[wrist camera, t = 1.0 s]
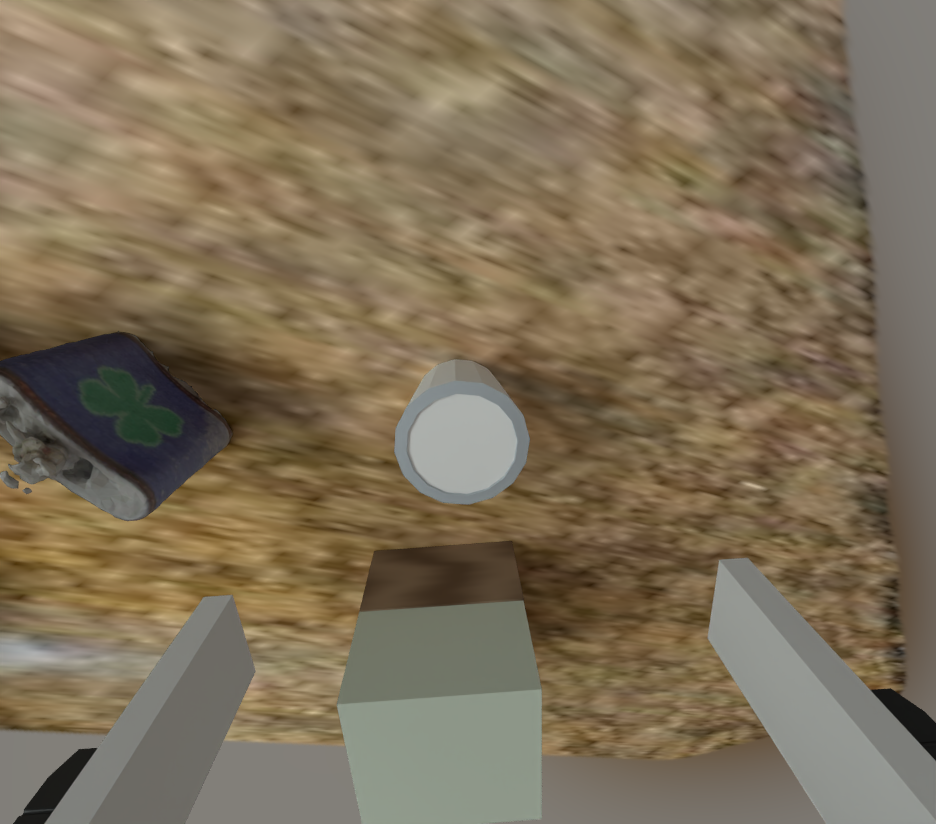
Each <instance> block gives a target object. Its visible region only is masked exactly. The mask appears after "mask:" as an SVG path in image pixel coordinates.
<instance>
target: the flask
mask: <svg viewBox="0 0 936 824" xmlns="http://www.w3.org/2000/svg"><path fill="white" fill-rule="evenodd" d="M168 369H169V367H167V366H165V365H163V364H161V363H159V362H158V361H157V360H156V359H155V357H154V355H153V351H152V352H151V351H150V350H148V349H147V348H146V347H145V345H144V344H143V343H142V342H141V341H140V340H139V339H138V338H137V337H136V336H135V335H132V334H129V333H125V332H119V331H118V332H116V333H111V334H104V335H100V336H96V337H93V338H88V339H85V340H81V341H78V342H72V343H66V344H64V345H60V346H57V347H54V348H51V349H46V350H40V351H36V352H32V353H30V354H25V355H20V356H17V357H12V358H8V359H5V360H2V361H0V435H1V436H2V437H3V438H4V439H5V440H6V441H7V442H8V443H9V444H10V445H12V446H13V454H14V459H15V460H16V461H17V462H19V464H16V465H10V464H8V466H9V468H10V469H11V470H12V471H13V472H14V473H15V474H16V475H20V479H22V480H23V481H25V482H27V483H29V484H35V483H37V482H39V481H42V480H45V479H46V478H50V479H53V480H56V481H58V482H59V483H61V484H62V485H64V486H65V487H66V488H68V489H69V490H70V491H71V492H73V493H75V494H77V495H79V496H80V497H82V498H84V499H86V500H88V501H89V502H91V503H92V504H94V505H95V506H97V507H98V508H100V509H101V510H103V511H106V512H108V513H110V514H111V515H113V516H114V517H116V518H119V519H122V520H125V521H135V520H140V519H142V518H144V517H146V516H147V515H149V514H150V513H151V512H153V511H154V510H155V509H157V508H158V507H159V506H160V504H161V503H162V502H163V501H164V500H166V499H167V498H168V497H169V496H170V495H171V494H172V493H173V492H174V491H175V490H176V489H178V488H179V487H180V486H181V485H182V484H183V483H184V482H185V481H186V480H187V479H188V478H190V477H191V476H192V475H193V474H194V473H195V472H197V471H198V470H199V469H201V468H202V467H203V466H204V465H205V464H206V463H207V462H208V461H209V460H210V459H211V458H213V457H214V456H215V455H216V454H217V453H218V452H220V451H221V450H222V449H223V448H224V447H226V446H227V444H228V443H229V441H230V439H231V437H232V435H233V433H232V431H231V429H230V427H229V425H228V424H227V422H226V420H225V419H224V418H223V417H222V415H221V414H220V412H218V411H217V410H216V409H214V410H211V408H210V407H208V405H207V404H205V402H204V401H202V399H201V398H199V396H198V394H197V393H196V392H195V391H194V390H193V389H192V386H189V385H188V384H187V383H186V382H185V381H182V379H181V380H179V379H178V378H175V377H173V376H172V375H171V374H170V373H169V372H168ZM0 478H1V479H2V481H3V482H4V483H5V484H6V485H7V486H8V487H10V488H18V483H19V481H17V480H15V479H14V478H12V477H11V476H9V474H8V472H7V471H3V472H1V473H0ZM22 491H23V492H25V493H26V494H28V493H31V492H32V491H31V489H29V488H25V489H24V490H22Z"/></svg>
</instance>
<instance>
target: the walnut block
mask: <svg viewBox="0 0 936 824" xmlns="http://www.w3.org/2000/svg"><path fill="white" fill-rule="evenodd" d="M509 601H524V598H523V593H522V588H521V583H520V578H519V574H518V569H517V564H516V559H515V554H514V549H513V544H512V541H503V542H489V543H476V544H462V545H449V546H435V547H422V548H408V549H395V550H381V551H374V554H373V558H372V562H371V566H370V570H369V574H368V578H367V582H366V586H365V590H364V595H363V599H362V603H361V607H360V612H366V611H381V610H395V609H409V608H423V607H437V606H451V605H466V604H480V603H494V602H509Z"/></svg>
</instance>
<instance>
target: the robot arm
mask: <svg viewBox="0 0 936 824" xmlns="http://www.w3.org/2000/svg"><path fill="white" fill-rule="evenodd" d="M708 640H709V641H710V643H711V644H712V646H713V648H714V649H715V651H716V652H717V654H718V655H719V657H720V658H721V660H722V662H723V663H724V665H725V666H726V668H727V669H728V671H729V673H730V674H731V676H732V677H733V679H734V680H735V682H736V684H737V685H738V687H739V688H740V690H741V691H742V693H743V695H744V696H745V698H746V699H747V701H748V702H749V704H750V706H751V707H752V709H753V710H754V712H755V713H756V715H757V716H758V718H759V720H760V721H761V723H762V724H763V726H764V727H765V729H766V731H767V732H768V734H769V735H770V737H771V738H772V740H773V742H774V743H775V745H776V746H777V748H778V749H779V751H780V753H781V754H782V756H783V757H784V759H785V760H786V762H787V763H788V765H789V766H790V768H791V770H792V771H793V773H794V774H795V776H796V778H797V779H798V781H799V782H800V784H801V785H802V787H803V789H804V790H805V792H806V793H807V795H808V796H809V798H810V800H811V801H812V803H813V804H814V806H815V807H816V809H817V811H818V812H819V814H820V815H821V817H822V818H823V820H824V821H825V823H826V824H936V723H935V722H934V721H933V720H932V719H931V718H930V717H929V716H928V715H927V714H926V713H925V712H924V711H923V710H921V709H920V708H918V707H917V706H916V705H914V704H913V703H911V702H910V701H908V700H907V699H905V698H904V697H902V696H901V695H900V694H898V693H897V692H895V691H894V690H892V689H878V690H870V689H869V688H868V687H867V686H866V685H865V684H864V683H863V682H862V681H861V680H860V679H859V678H858V676H857V675H856V674H855V673H854V672H853V671H852V670H851V669H850V668H849V667H848V666H847V665H846V664H845V662H844V661H843V660H842V659H841V658H840V657H839V656H838V655H837V654H836V653H835V652H834V651H833V649H832V648H831V647H830V646H829V645H828V644H827V643H826V642H825V641H824V640H823V639H822V638H821V637H820V635H819V634H818V633H817V632H816V631H815V630H814V629H813V628H812V627H811V626H810V625H809V624H808V622H807V621H806V620H805V619H804V618H803V617H802V616H801V615H800V614H799V613H798V612H797V611H796V610H795V608H794V607H793V606H792V605H791V604H790V603H789V602H788V601H787V600H786V599H785V598H784V597H783V595H782V594H781V593H780V592H779V591H778V590H777V589H776V588H775V587H774V586H773V585H772V584H771V583H770V581H769V580H768V579H767V578H766V577H765V576H764V575H763V574H762V573H761V572H760V571H759V570H758V569H757V567H756V566H755V565H754V564H753V563H752V562H751V561H750V560H749V559H748V558H739V559H725V560H719V566H718V572H717V579H716V586H715V592H714V599H713V606H712V612H711V619H710V626H709V632H708ZM254 673H255V668H254V664H253V661H252V658H251V654H250V651H249V648H248V645H247V641H246V638H245V635H244V631H243V628H242V625H241V621H240V618H239V615H238V612H237V608H236V605H235V602H234V598H233V595H226V596H212V597H204V598H203V599H202V601H201V602H200V603H199V605H198V606H197V608H196V609H195V611H194V612H193V613H192V615H191V616H190V618H189V619H188V621H187V622H186V623H185V625H184V626H183V628H182V629H181V630H180V632H179V633H178V635H177V636H176V638H175V639H174V640H173V642H172V643H171V645H170V646H169V648H168V649H167V650H166V652H165V653H164V655H163V656H162V657H161V659H160V660H159V662H158V663H157V665H156V666H155V667H154V669H153V670H152V672H151V673H150V675H149V676H148V677H147V679H146V680H145V682H144V683H143V684H142V686H141V687H140V689H139V690H138V692H137V693H136V694H135V696H134V697H133V699H132V700H131V701H130V703H129V704H128V706H127V707H126V709H125V710H124V711H123V713H122V714H121V716H120V717H119V719H118V720H117V721H116V723H115V724H114V726H113V727H112V728H111V730H110V731H109V733H108V734H107V736H106V737H105V738H104V740H103V741H102V743H101V744H100V746H99V747H98V748H91V749H79V750H78V751H77V752H76V753H74V754H73V755H72V756H71V757H70V758H69V759H68V760H67V761H66V762H65V763H64V764H62V765H61V766H60V767H59V768H58V769H57V770H56V771H55V772H54V773H53V774H52V775H50V776H49V777H48V778H47V780H46V781H45V783H44V784H43V785H42V786H41V788H40V789H39V790H38V792H37V793H36V794H35V796H34V797H33V798H32V800H31V801H30V802H29V804H28V805H27V806H26V808H25V809H24V813H23V815H22V816H19V817H18V818H17V819H16V821H15V822H14V823H13V824H185V822H186V820H187V818H188V816H189V814H190V812H191V810H192V807H193V805H194V803H195V801H196V799H197V797H198V794H199V792H200V790H201V788H202V786H203V784H204V781H205V779H206V777H207V775H208V773H209V771H210V769H211V766H212V764H213V762H214V760H215V758H216V756H217V753H218V751H219V749H220V747H221V745H222V743H223V740H224V738H225V736H226V734H227V732H228V730H229V727H230V725H231V723H232V721H233V719H234V717H235V715H236V712H237V710H238V708H239V706H240V704H241V702H242V699H243V697H244V695H245V693H246V691H247V689H248V686H249V684H250V682H251V680H252V678H253V676H254Z"/></svg>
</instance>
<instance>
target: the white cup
mask: <svg viewBox="0 0 936 824" xmlns="http://www.w3.org/2000/svg"><path fill="white" fill-rule="evenodd" d="M529 441H530V438H529V434H528V430H527V427H526V423H525V419H524V416H523V414H522V413H521V411H520V410H519V409H518V407H517V406H516V405H515V403H514V402H513V401H512V399H511V398H510V396H509V395H508V394H507V392H506V391H505V390H504V388H503V387H502V386H501V384H500V383H499V382H498V380H497V379H496V378H495V377H494V376H493V374H492V373H491V372H490V371H489V369H487V368H486V367H484V366H482V365H480V364H478V363H476V362H474V361H470V360H459V359H454V360H450V361H447V362H444V363H440V364H438V365H437V366H435V367H434V368H433V369H432V370H430V371H429V372H428V373H427V374H426V375H425V376H424V377H423V379H422V381H421V383H420V385H419V386H418V388H417V390H416V392H415V393H414V395H413V397H412V399H411V400H410V402H409V404H408V406H407V408H406V410H405V411H404V413H403V415H402V417H401V419H400V421H399V423H398V425H397V427H396V433H395V452H394V453H395V455H396V458H397V460H398V463H399V465H400V468H401V471H402V473H403V475H404V476H405V477H406V478H407V479H408V480H409V481H410V482H411V483H412V484H413V485H414V486H415V488H416V489H417V490H418V491H419V492H420V493H423V494H425V495H427V496H429V497H432V498H434V499H436V500H438V501H440V502H443V503H454V504H468V505H469V504H472V503H476V502H479V501H483V500H486V499H490V498H493V497H494V496H496V495H497V494H499V493H500V492H501V491H503V490H504V489H506V488H507V487H508V486H510V485H511V484H513V482H514V481H515V479H516V478H517V476H518V474H519V473H520V471H521V470H522V468H523V467H524V465H525V464H526V460H527V453H528V447H529Z"/></svg>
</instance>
